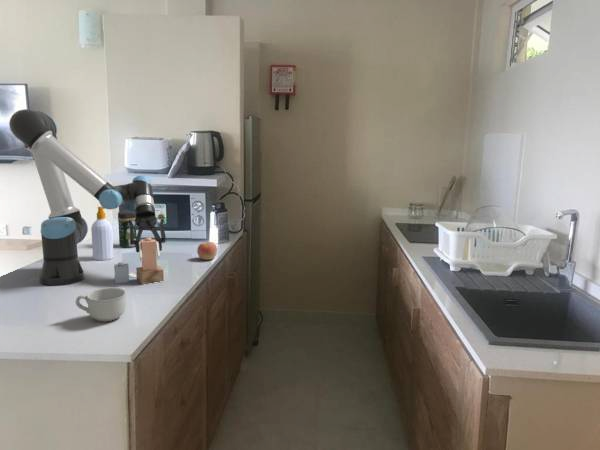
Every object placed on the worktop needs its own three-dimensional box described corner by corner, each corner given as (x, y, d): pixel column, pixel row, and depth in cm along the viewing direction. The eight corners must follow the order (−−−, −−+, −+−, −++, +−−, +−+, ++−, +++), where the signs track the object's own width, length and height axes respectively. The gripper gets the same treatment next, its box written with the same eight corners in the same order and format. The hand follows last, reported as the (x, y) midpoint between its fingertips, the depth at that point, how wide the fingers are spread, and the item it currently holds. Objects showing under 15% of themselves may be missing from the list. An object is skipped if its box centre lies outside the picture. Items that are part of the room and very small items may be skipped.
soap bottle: (115, 259, 206) (112, 207, 202) (92, 261, 203) (89, 208, 199) (115, 255, 214) (112, 205, 210) (93, 256, 211) (90, 205, 206)
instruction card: (133, 277, 179) (133, 276, 179) (125, 274, 183) (124, 274, 183) (151, 273, 186) (151, 272, 186) (142, 270, 189) (142, 270, 189)
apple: (215, 261, 206) (214, 244, 204) (195, 261, 206) (195, 244, 204) (218, 257, 214) (218, 240, 213) (200, 256, 214) (199, 240, 213)
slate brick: (115, 283, 172) (114, 265, 171) (115, 279, 177) (114, 262, 176) (129, 281, 174) (128, 264, 173) (128, 278, 179) (127, 261, 177)
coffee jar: (117, 245, 235) (115, 209, 231) (133, 243, 239) (131, 208, 236) (123, 249, 227) (121, 212, 224) (139, 247, 232) (137, 211, 228)
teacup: (131, 311, 144) (130, 287, 142) (119, 325, 133) (118, 298, 131) (86, 311, 143) (85, 287, 142) (70, 324, 132) (69, 298, 131)
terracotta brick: (143, 270, 172) (141, 239, 170) (142, 267, 177) (140, 237, 175) (156, 269, 174) (155, 238, 172) (155, 266, 179) (154, 236, 176)
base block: (142, 285, 171) (141, 272, 170) (136, 280, 177) (136, 267, 176) (163, 282, 175) (163, 269, 174) (157, 277, 182) (157, 264, 181)
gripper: (168, 213, 190) (174, 261, 178) (120, 215, 182) (123, 265, 170) (169, 202, 184) (176, 250, 172) (119, 204, 177) (123, 254, 165)
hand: (150, 257), depth 171 cm, fingers open, 6 cm apart
